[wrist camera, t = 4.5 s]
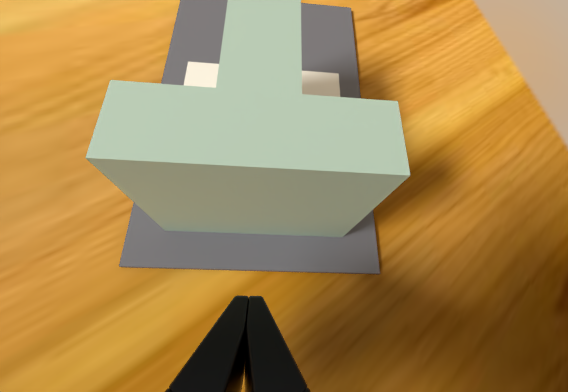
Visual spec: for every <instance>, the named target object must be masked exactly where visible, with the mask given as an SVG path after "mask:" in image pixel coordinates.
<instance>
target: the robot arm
mask: <svg viewBox="0 0 568 392" xmlns="http://www.w3.org/2000/svg"><path fill="white" fill-rule="evenodd" d="M244 369H245V392H310V390H309V389H308V388H307V384H306V382H305V380H304V378H303V376H302V374H301V372H300V370H299V368H298V366H297V364H296V362H295V360H294V358H293V356H292V354H291V352H290V350H289V348H288V346H287V344H286V342H285V340H284V338H283V336H282V334H281V332H280V330H279V328H278V327H277V325H276V323H275V321H274V319H273V317H272V315H271V313H270V311H269V309H268V307H267V305H266V303H265V301H264V299H263V297H261V296H250V297H249V298H248V296H235V297H234V298H233V300H232V301H231V302H230V304H229V305H228V307H227V308H226V309H225V311H224V312H223V313H222V315H221V316H220V317H219V319H218V320H217V322H216V323H215V324H214V326H213V327H212V328H211V330H210V331H209V332H208V334H207V335H206V337H205V338H204V339H203V341H202V342H201V343H200V345H199V346H198V348H197V349H196V350H195V352H194V353H193V354H192V356H191V357H190V358H189V360H188V361H187V363H186V364H185V365H184V367H183V368H182V369H181V371H180V372H179V373H178V375H177V376H176V378H175V379H174V380H173V382H172V383H171V384H170V386H169V388H168V389H167V390H166V391H165V392H241V389H242V383H243V377H244Z"/></svg>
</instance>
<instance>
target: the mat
mask: <svg viewBox="0 0 568 392" xmlns="http://www.w3.org/2000/svg"><path fill="white" fill-rule="evenodd" d="M227 2H228V0H180V4H179V9H178V13H177V17H176V22H175V26H174V30H173V35H172V39H171V43H170V48H169V52H168V56H167V61H166V65H165V69H164V74H163V78H162V82H161V84H171V85H185V86H198V87H212V88H216V83H217V76H218V69H219V61H220V54H221V47H222V39H223V32H224V25H225V17H226V10H227ZM301 51H302V94H306V95H320V96H334V97H347V98H361V96H360V87H359V78H358V69H357V60H356V51H355V42H354V33H353V24H352V14H351V8H347V7H337V6H327V5H316V4H306V3H301ZM119 266H120V267H134V268H170V269H206V270H242V271H279V272H315V273H351V274H380V269H379V260H378V251H377V242H376V233H375V224H374V215H373V210H372V211H371V212H370V213H369V214H367V215H366V216H365V217H364V218H363V219H362V220H361V221H360V222H359V223H358V224H356V225H355V226H354V227H353V228H352V229H351V230H350V231H349V232H348V233H347V234H345V235H344V236H343V237H325V236H298V235H271V234H244V233H217V232H190V231H165V230H164V229H163V228H162V227H161V226H160V225H158V224H157V223H156V222H155V221H154V220H153V219H152V218H151V217H150V216H149V215H147V214H146V213H145V212H144V211H143V210H142V209H141V208H140V207H139V206H138V205H137V204H135V203H133V208H132V212H131V216H130V221H129V225H128V229H127V234H126V238H125V242H124V247H123V251H122V255H121V260H120V264H119Z"/></svg>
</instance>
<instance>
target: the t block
mask: <svg viewBox="0 0 568 392" xmlns="http://www.w3.org/2000/svg"><path fill="white" fill-rule="evenodd" d="M86 159H87V160H88V161H90V162H91V163H92V164H93V165H94V166H95V167H96V168H97V169H98V170H99V171H101V172H102V173H103V174H104V175H105V176H106V177H107V178H108V179H109V180H110V181H111V182H113V183H114V184H115V185H116V186H117V187H118V188H119V189H120V190H121V191H122V192H123V193H125V194H126V195H127V196H128V197H129V198H130V199H131V200H132V201H133V202H134V203H135V204H137V205H138V206H139V207H140V208H141V209H142V210H143V211H144V212H145V213H146V214H147V215H149V216H150V217H151V218H152V219H153V220H154V221H155V222H156V223H157V224H158V225H160V226H161V227H162V228H163V229H164V230H165V231H190V232H217V233H244V234H271V235H298V236H325V237H343V236H344V235H345V234H347V233H348V232H349V231H350V230H351V229H352V228H353V227H354V226H355V225H356V224H358V223H359V222H360V221H361V220H362V219H363V218H364V217H365V216H366V215H367V214H369V213H370V212H371V211H372V210H373V209H374V208H375V207H376V206H377V205H378V204H380V203H381V202H382V201H383V200H384V199H385V198H386V197H387V196H388V195H389V194H391V193H392V192H393V191H394V190H395V189H396V188H397V187H398V186H399V185H401V184H402V183H403V182H404V181H405V180H406V179H407V178H408V177H409V176H410V170H409V164H408V158H407V152H406V146H405V141H404V135H403V129H402V123H401V117H400V111H399V106H398V101H388V100H374V99H361V98H347V97H334V96H320V95H306V94H302V51H301V0H228V2H227V10H226V17H225V25H224V32H223V39H222V47H221V54H220V61H219V69H218V76H217V83H216V88H212V87H198V86H185V85H171V84H158V83H144V82H130V81H117V80H110V83H109V86H108V89H107V92H106V96H105V99H104V102H103V105H102V108H101V111H100V114H99V117H98V121H97V124H96V127H95V130H94V133H93V136H92V139H91V142H90V146H89V149H88V152H87V155H86Z"/></svg>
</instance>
